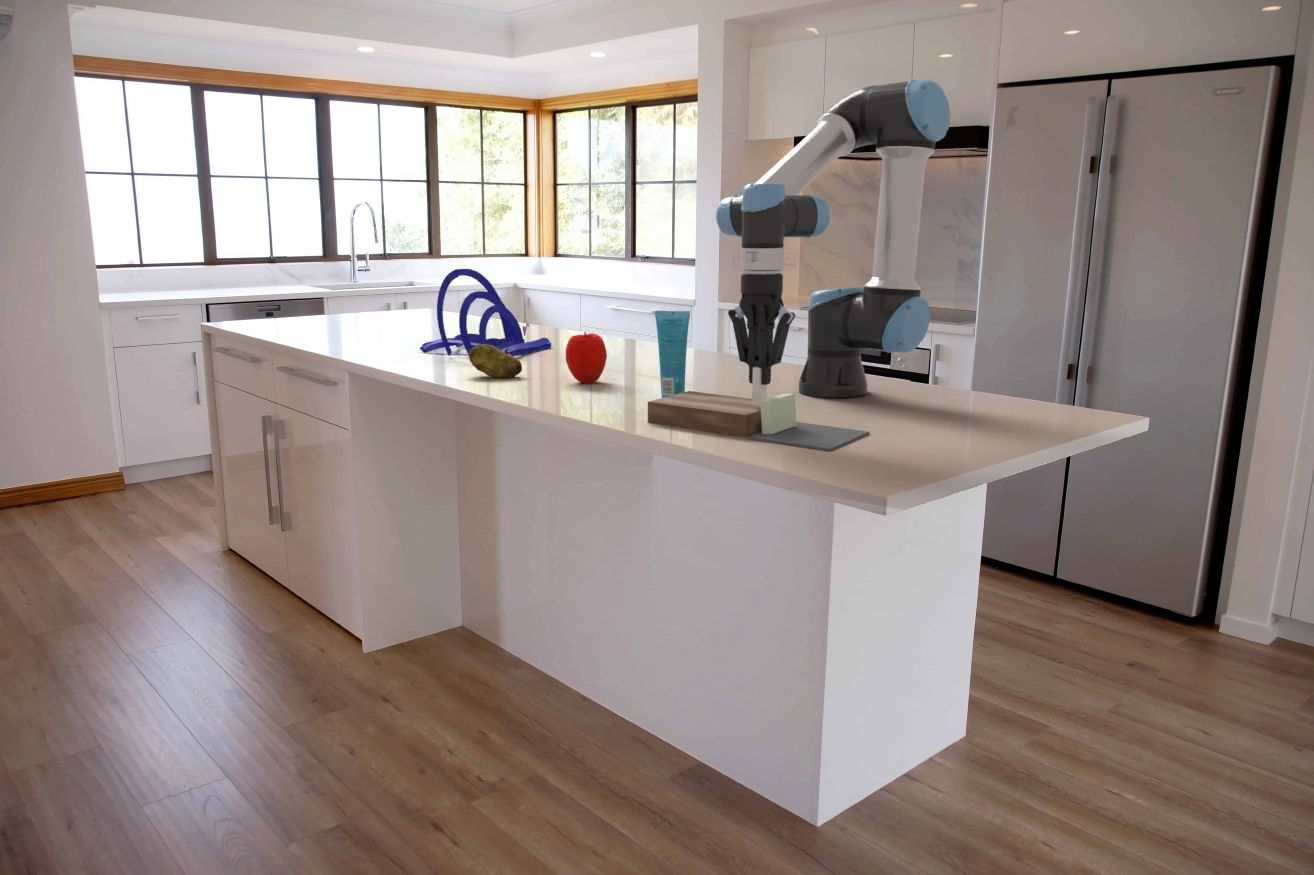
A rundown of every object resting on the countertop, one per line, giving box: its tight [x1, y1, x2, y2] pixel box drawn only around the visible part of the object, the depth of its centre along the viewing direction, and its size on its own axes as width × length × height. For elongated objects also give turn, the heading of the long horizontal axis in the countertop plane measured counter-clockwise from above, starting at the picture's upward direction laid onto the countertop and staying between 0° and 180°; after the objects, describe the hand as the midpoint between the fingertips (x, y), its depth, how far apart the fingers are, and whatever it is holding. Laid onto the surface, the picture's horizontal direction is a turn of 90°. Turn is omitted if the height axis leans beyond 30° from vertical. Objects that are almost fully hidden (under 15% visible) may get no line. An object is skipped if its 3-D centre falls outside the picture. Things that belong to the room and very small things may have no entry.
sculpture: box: [419, 268, 552, 357], centre depth 282 cm, size 35×34×26 cm
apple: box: [565, 331, 608, 384], centre depth 228 cm, size 10×10×12 cm
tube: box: [654, 310, 691, 398], centre depth 204 cm, size 7×5×19 cm, turn 90°
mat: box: [747, 421, 871, 452], centre depth 173 cm, size 16×16×1 cm
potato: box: [468, 344, 523, 379], centre depth 237 cm, size 8×13×8 cm, turn 58°
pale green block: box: [760, 393, 797, 434], centre depth 175 cm, size 9×6×2 cm
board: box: [647, 390, 762, 438], centre depth 184 cm, size 14×22×4 cm, turn 54°
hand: (759, 401), depth 177 cm, fingers closed
